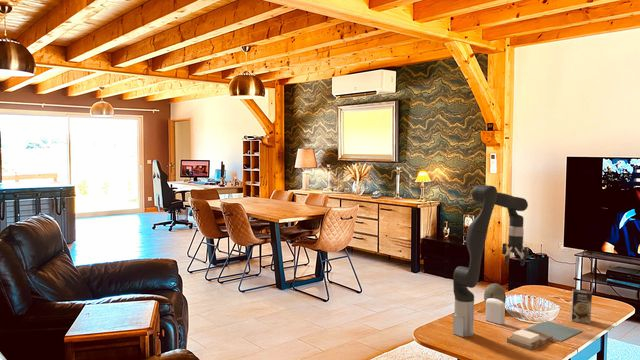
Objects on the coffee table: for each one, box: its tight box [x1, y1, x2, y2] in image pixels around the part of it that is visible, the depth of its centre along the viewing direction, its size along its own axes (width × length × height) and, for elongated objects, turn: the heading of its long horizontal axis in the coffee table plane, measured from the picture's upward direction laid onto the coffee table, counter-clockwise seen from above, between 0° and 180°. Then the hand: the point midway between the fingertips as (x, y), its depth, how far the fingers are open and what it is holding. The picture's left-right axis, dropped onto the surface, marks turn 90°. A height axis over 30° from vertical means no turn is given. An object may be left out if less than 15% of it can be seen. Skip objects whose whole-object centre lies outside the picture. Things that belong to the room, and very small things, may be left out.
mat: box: [523, 320, 583, 343], centre depth 262 cm, size 22×19×1 cm
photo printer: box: [484, 298, 506, 325], centre depth 274 cm, size 10×4×12 cm, turn 39°
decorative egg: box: [483, 282, 506, 305], centre depth 295 cm, size 12×12×15 cm
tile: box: [511, 328, 539, 344], centre depth 246 cm, size 8×9×2 cm
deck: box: [506, 329, 554, 351], centre depth 249 cm, size 20×12×2 cm, turn 128°
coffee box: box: [570, 288, 593, 324], centre depth 277 cm, size 9×6×16 cm
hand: (514, 263), depth 283 cm, fingers open, 8 cm apart
